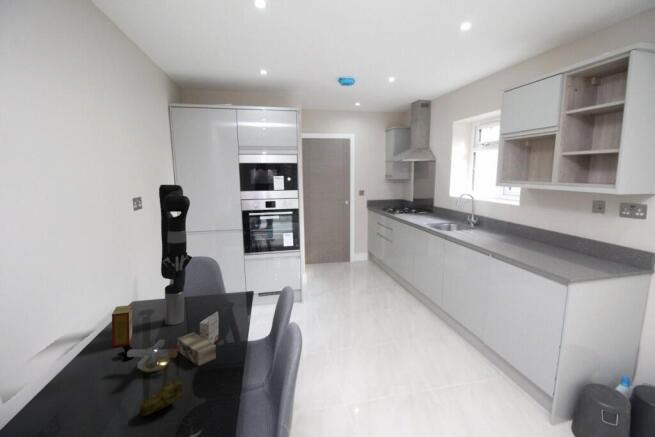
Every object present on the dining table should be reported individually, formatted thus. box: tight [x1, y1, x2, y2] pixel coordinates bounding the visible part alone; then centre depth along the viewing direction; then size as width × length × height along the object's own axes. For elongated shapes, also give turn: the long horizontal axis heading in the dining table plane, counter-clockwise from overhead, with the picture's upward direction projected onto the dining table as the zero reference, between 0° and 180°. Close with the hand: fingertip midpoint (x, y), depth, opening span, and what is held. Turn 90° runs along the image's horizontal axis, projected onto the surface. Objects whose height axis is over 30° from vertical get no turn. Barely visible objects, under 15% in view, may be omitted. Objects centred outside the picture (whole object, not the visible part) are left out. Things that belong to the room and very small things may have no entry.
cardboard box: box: [176, 331, 217, 367], centre depth 135 cm, size 18×9×6 cm, turn 53°
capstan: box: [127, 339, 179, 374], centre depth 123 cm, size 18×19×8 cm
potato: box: [139, 380, 185, 416], centre depth 103 cm, size 8×13×8 cm, turn 114°
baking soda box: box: [111, 304, 134, 348], centre depth 143 cm, size 10×6×16 cm
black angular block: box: [117, 343, 134, 363], centre depth 132 cm, size 12×7×5 cm, turn 48°
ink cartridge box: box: [199, 310, 219, 344], centre depth 146 cm, size 9×5×15 cm, turn 168°
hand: (177, 278), depth 136 cm, fingers closed
